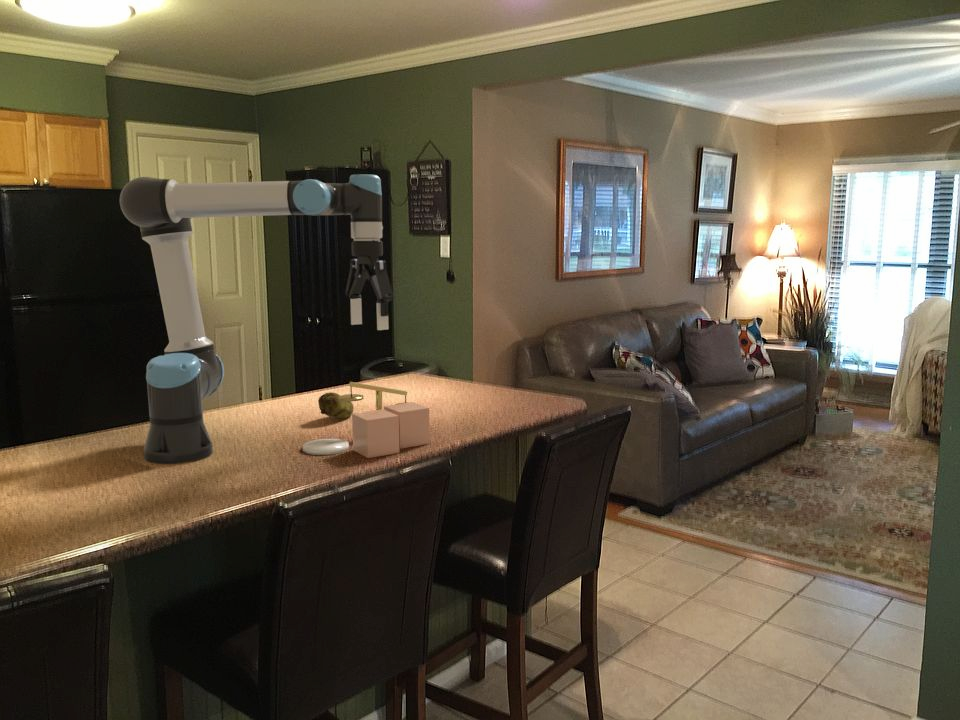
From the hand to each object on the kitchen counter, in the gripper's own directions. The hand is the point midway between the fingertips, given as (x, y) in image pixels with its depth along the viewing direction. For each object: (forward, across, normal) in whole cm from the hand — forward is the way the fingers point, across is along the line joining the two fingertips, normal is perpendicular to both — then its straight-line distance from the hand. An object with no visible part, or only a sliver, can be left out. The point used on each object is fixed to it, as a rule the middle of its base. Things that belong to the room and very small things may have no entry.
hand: (369, 327), depth 198 cm
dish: (+29, -1, +13) cm, 31 cm away
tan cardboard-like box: (+29, -10, +4) cm, 31 cm away
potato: (+29, +26, -3) cm, 39 cm away
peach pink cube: (+29, -8, -6) cm, 30 cm away
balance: (+29, +4, -4) cm, 29 cm away
